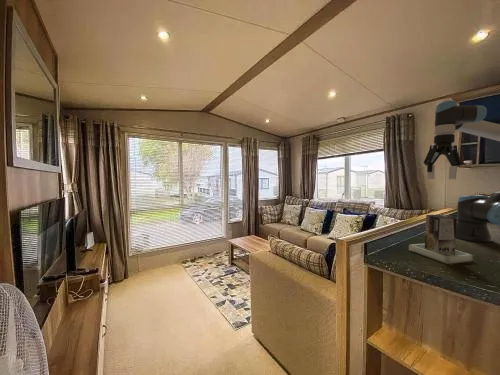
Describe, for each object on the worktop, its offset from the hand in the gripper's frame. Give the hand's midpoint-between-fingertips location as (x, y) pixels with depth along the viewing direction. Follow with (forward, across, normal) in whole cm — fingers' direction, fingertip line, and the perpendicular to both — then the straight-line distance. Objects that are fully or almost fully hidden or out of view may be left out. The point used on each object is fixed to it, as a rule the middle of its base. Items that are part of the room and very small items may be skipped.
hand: (441, 179), depth 109 cm
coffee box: (+31, +17, +13) cm, 38 cm away
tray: (+32, +17, +13) cm, 38 cm away
